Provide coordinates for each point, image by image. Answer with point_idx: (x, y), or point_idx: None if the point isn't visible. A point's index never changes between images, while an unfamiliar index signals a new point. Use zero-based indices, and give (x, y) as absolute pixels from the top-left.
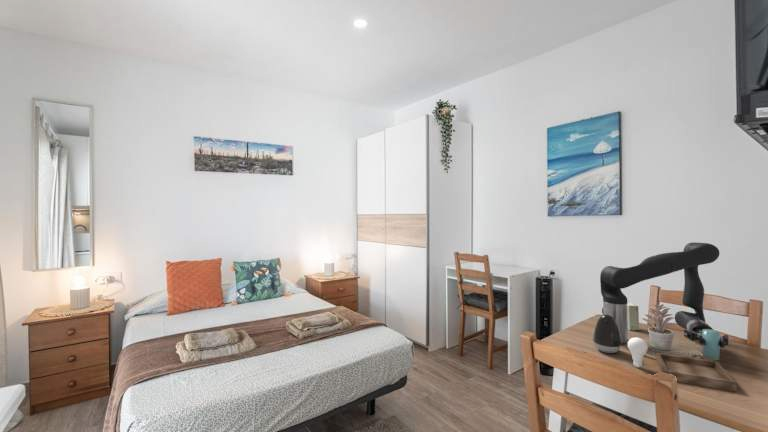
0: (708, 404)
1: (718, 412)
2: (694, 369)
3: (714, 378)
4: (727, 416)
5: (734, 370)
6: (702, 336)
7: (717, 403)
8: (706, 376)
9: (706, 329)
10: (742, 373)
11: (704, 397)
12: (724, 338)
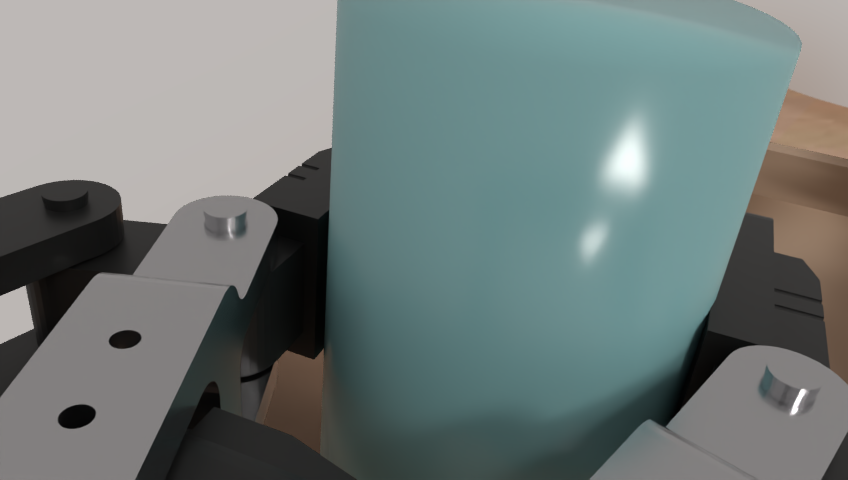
0: (841, 130)
1: (815, 104)
2: (843, 357)
3: (770, 144)
4: (788, 92)
5: (303, 426)
6: (724, 272)
7: (795, 131)
8: (818, 161)
9: (627, 48)
10: (287, 364)
11: (845, 158)
12: (113, 207)
